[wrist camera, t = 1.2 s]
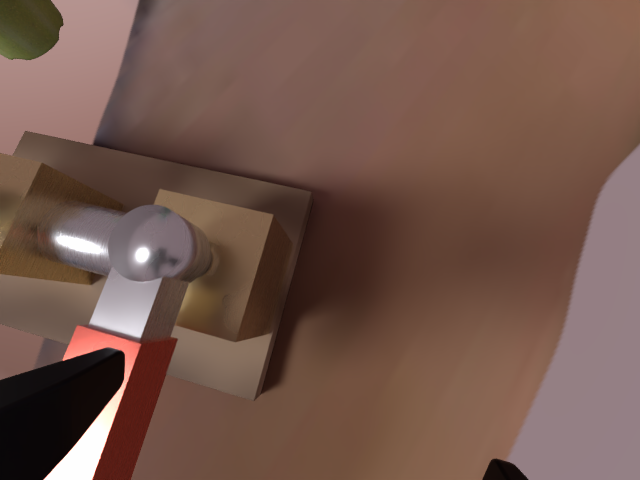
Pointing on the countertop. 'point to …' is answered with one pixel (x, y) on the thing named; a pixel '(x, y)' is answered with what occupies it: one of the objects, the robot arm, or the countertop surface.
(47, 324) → the beige flat board
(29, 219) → the pipe manifold
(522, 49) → the countertop surface
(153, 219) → the valve lever
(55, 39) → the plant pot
